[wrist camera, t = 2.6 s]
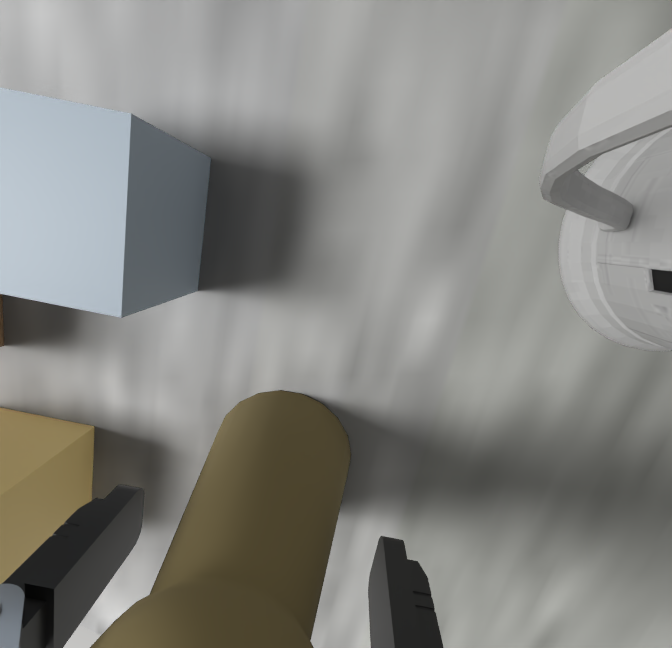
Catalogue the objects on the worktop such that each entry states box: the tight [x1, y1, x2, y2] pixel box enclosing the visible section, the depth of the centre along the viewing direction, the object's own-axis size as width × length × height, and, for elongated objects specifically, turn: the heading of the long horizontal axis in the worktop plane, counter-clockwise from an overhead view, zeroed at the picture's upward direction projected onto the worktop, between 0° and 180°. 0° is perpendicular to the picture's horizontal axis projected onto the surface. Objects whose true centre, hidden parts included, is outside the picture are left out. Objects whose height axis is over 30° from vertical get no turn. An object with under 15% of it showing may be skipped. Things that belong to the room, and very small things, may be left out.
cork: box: [90, 390, 351, 648], centre depth 11 cm, size 6×6×11 cm
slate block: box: [0, 88, 211, 318], centre depth 11 cm, size 5×5×5 cm
